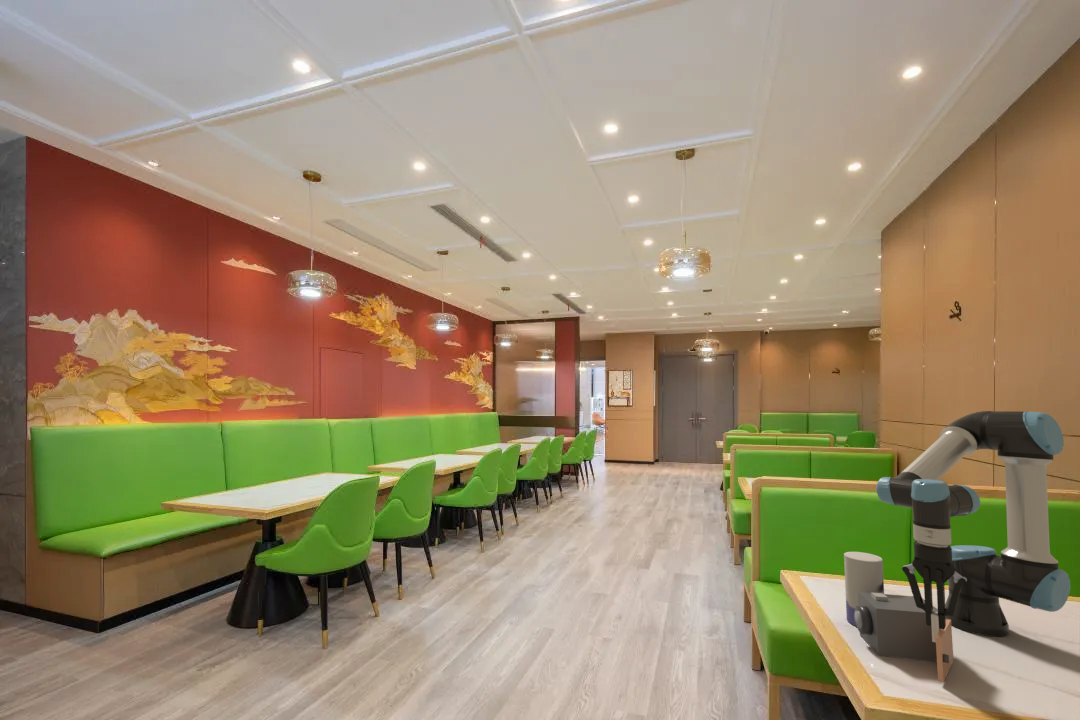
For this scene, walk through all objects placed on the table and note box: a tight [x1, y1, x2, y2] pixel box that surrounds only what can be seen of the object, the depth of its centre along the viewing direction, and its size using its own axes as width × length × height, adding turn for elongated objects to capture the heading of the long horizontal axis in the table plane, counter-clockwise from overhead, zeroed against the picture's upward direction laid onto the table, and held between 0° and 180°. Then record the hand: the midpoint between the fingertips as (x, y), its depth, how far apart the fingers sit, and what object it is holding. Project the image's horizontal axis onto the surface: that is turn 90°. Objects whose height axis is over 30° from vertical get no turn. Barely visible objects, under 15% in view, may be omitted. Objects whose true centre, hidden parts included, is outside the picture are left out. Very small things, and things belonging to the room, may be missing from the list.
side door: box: [936, 619, 954, 683], centre depth 125 cm, size 15×2×10 cm, turn 134°
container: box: [843, 551, 885, 627], centre depth 154 cm, size 10×10×20 cm
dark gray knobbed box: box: [855, 592, 938, 662], centre depth 139 cm, size 18×12×13 cm, turn 78°
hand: (936, 640), depth 125 cm, fingers closed
